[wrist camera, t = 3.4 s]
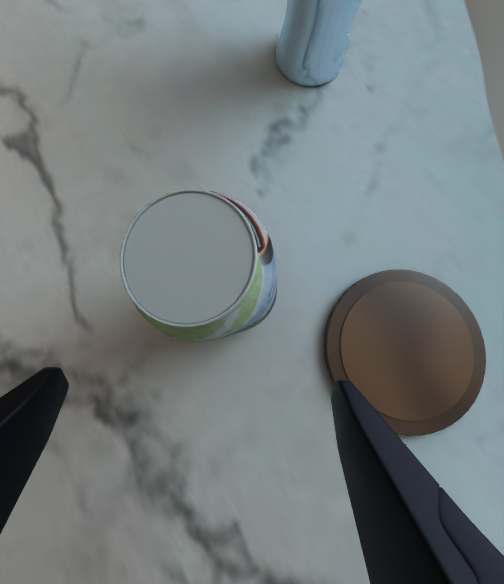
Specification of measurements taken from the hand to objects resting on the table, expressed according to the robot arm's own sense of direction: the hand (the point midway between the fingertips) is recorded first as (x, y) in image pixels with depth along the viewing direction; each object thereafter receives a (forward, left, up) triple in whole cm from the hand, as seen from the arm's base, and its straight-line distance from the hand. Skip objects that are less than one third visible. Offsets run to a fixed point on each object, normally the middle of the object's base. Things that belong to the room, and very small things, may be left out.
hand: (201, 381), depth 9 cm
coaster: (+10, -9, -11) cm, 18 cm away
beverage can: (+3, +3, -12) cm, 12 cm away
